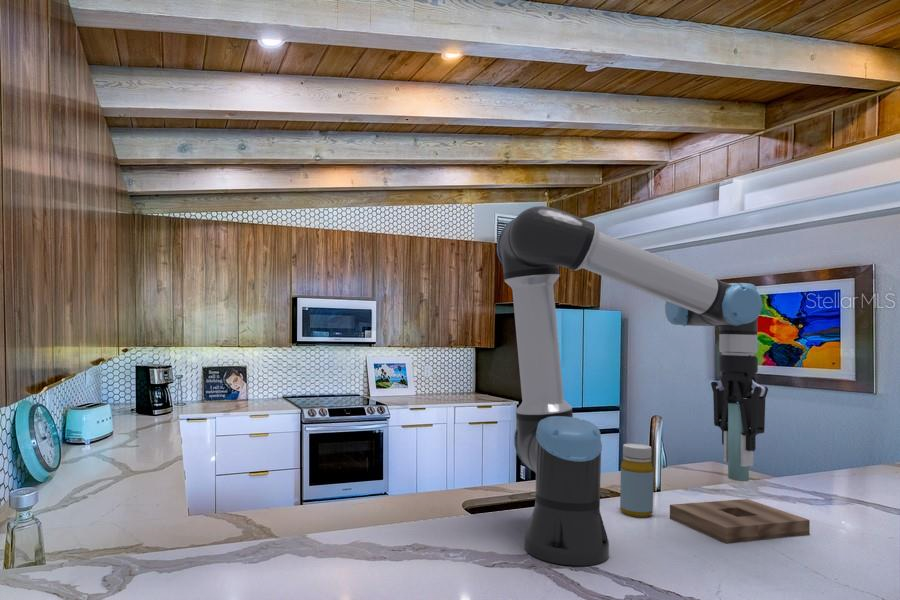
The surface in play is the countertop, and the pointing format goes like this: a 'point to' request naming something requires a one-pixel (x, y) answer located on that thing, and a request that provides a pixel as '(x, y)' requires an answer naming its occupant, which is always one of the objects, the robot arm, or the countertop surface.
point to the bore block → (739, 520)
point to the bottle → (636, 481)
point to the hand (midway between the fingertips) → (738, 463)
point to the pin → (735, 444)
